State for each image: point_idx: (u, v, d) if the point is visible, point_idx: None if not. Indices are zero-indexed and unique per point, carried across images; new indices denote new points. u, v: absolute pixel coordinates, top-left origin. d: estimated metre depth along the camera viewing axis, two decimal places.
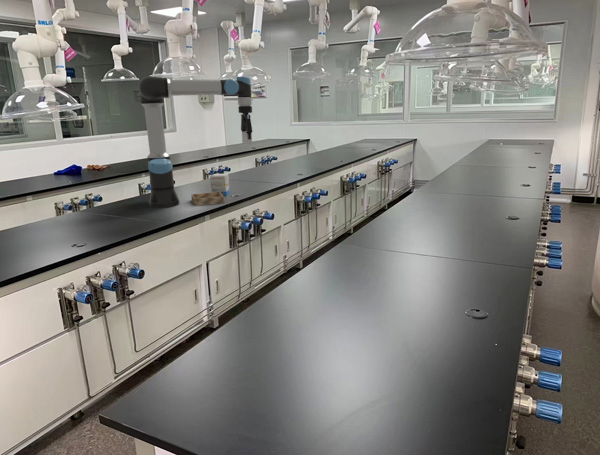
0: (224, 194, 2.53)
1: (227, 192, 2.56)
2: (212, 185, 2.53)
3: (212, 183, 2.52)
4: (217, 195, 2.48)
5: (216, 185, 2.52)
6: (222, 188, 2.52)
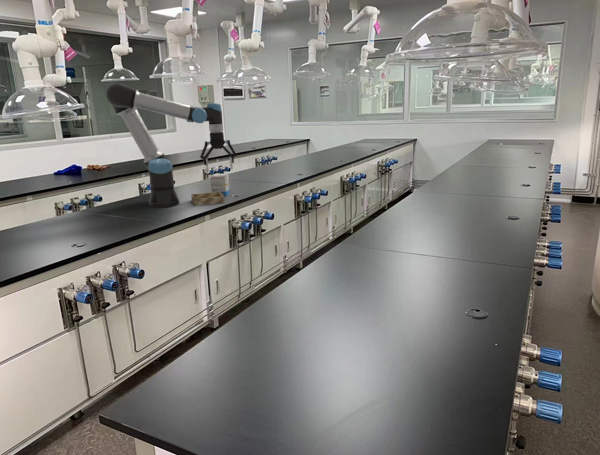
0: (224, 194, 2.53)
1: (227, 192, 2.56)
2: (212, 185, 2.53)
3: (212, 183, 2.52)
4: (217, 195, 2.48)
5: (216, 185, 2.52)
6: (222, 188, 2.52)
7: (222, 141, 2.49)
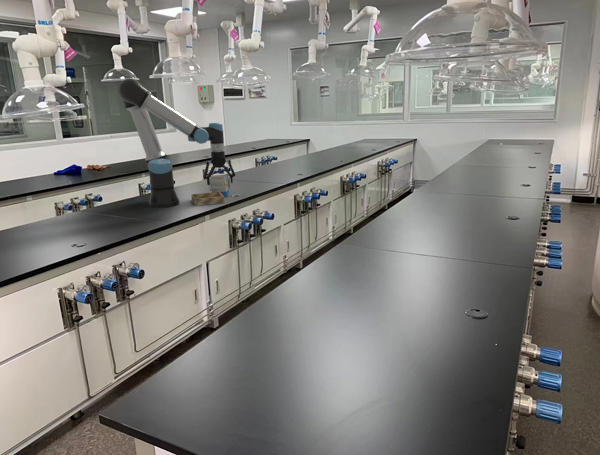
0: (224, 194, 2.53)
1: (227, 192, 2.56)
2: (212, 185, 2.52)
3: (212, 183, 2.52)
4: (217, 195, 2.48)
5: (216, 185, 2.52)
6: (222, 188, 2.52)
7: (223, 160, 2.52)
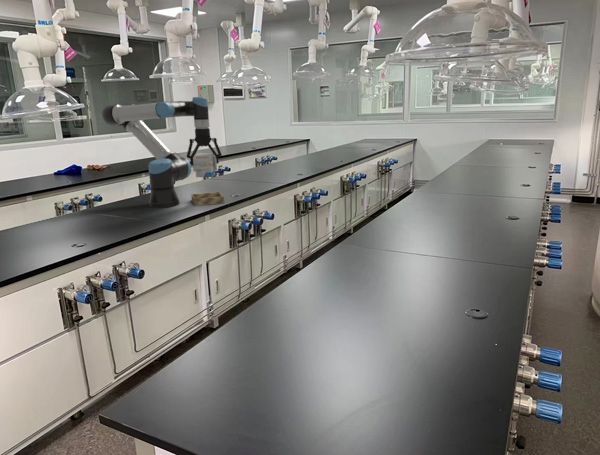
0: (209, 175, 2.33)
1: (212, 173, 2.36)
2: (196, 165, 2.32)
3: (196, 163, 2.32)
4: (217, 195, 2.48)
5: (200, 165, 2.32)
6: (207, 169, 2.32)
7: (208, 138, 2.32)
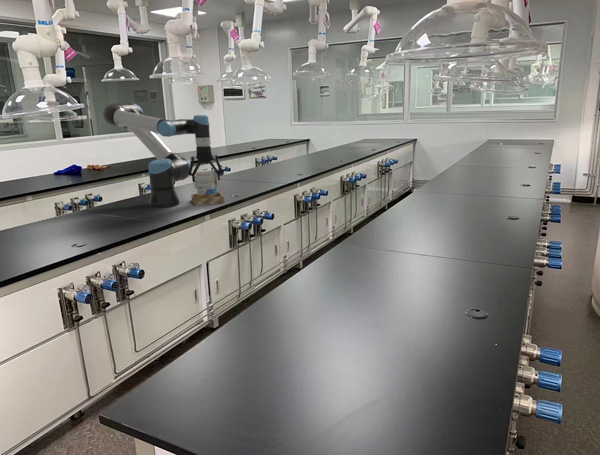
0: (211, 192, 2.35)
1: (214, 190, 2.38)
2: (197, 182, 2.34)
3: (198, 180, 2.34)
4: (217, 195, 2.48)
5: (202, 182, 2.34)
6: (208, 186, 2.34)
7: (209, 155, 2.34)
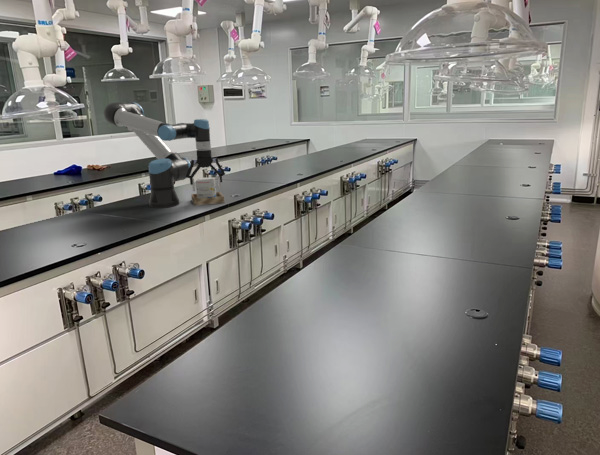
0: None
1: None
2: (197, 190, 2.35)
3: (198, 188, 2.35)
4: (217, 195, 2.48)
5: (202, 189, 2.35)
6: (209, 193, 2.36)
7: (210, 159, 2.35)
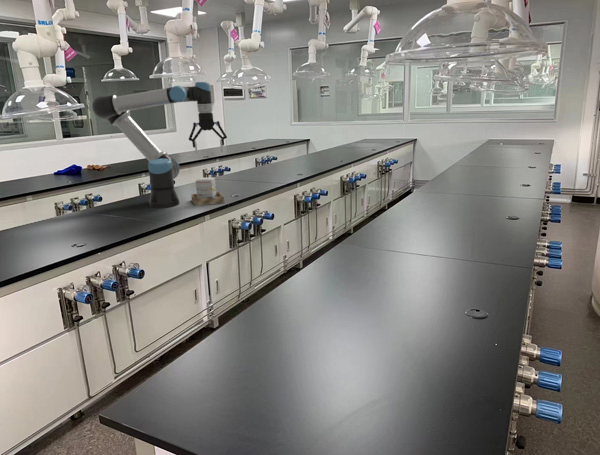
0: None
1: None
2: (197, 190, 2.35)
3: (198, 188, 2.35)
4: (217, 195, 2.48)
5: (202, 189, 2.35)
6: (209, 193, 2.36)
7: (211, 122, 2.38)
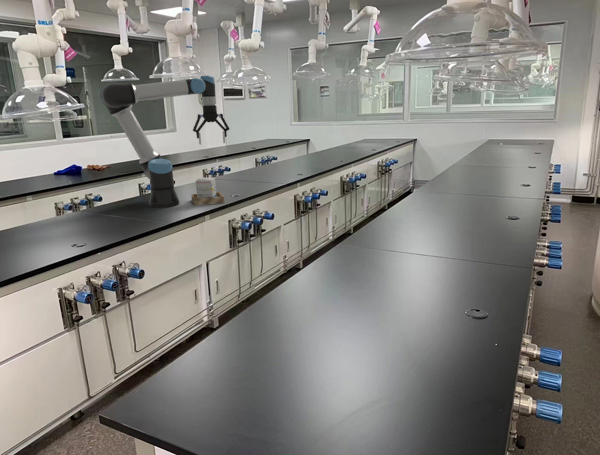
0: None
1: None
2: (197, 190, 2.35)
3: (198, 188, 2.35)
4: (217, 195, 2.48)
5: (202, 189, 2.35)
6: (209, 193, 2.36)
7: (215, 114, 2.49)
